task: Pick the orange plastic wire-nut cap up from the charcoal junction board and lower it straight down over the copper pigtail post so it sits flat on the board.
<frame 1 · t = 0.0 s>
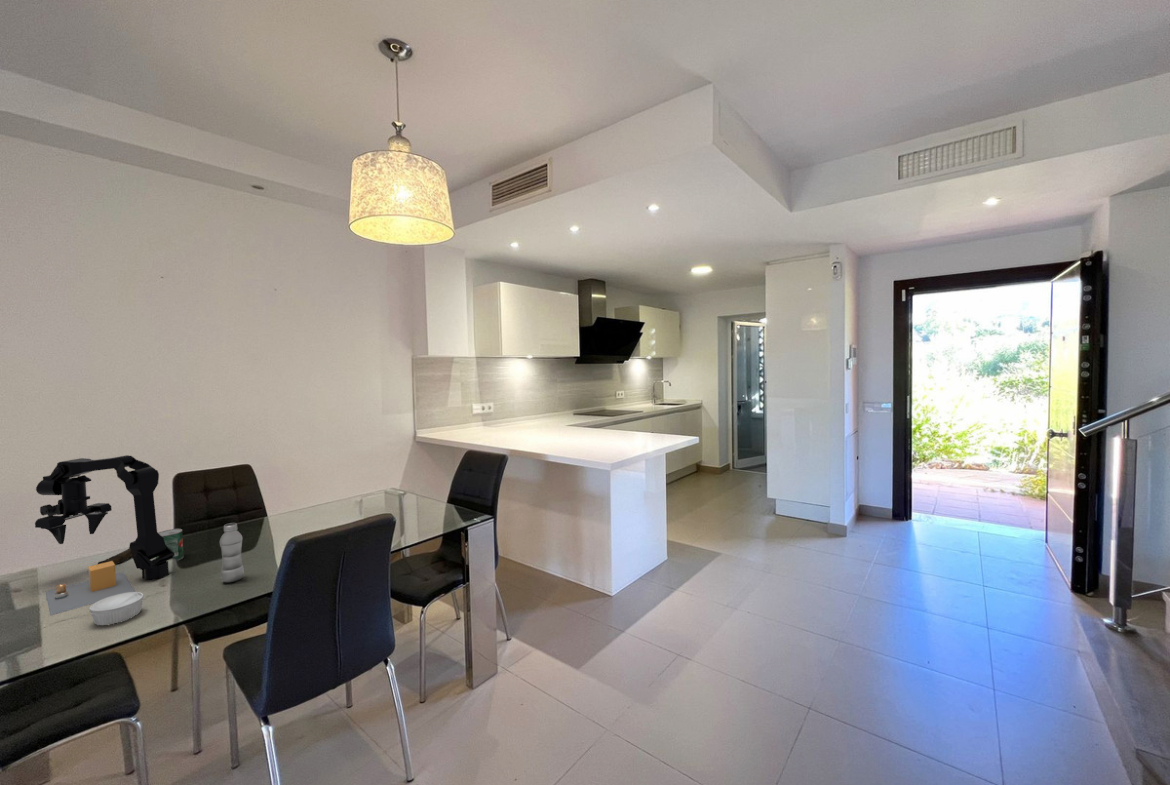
hand: (76, 538, 158), 15 cm above the table, tool pointing down, fingers open, 9 cm apart
canned tomato: (170, 560, 175), on the table
plastic bottle: (232, 581, 157), on the table
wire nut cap: (102, 586, 150), point 1 cm above the table, touching junction board
pigtail post: (61, 597, 143), resting on junction board
junction board: (90, 595, 147), on the table
hand tool: (123, 561, 175), on the table
ramekin: (118, 618, 134), on the table
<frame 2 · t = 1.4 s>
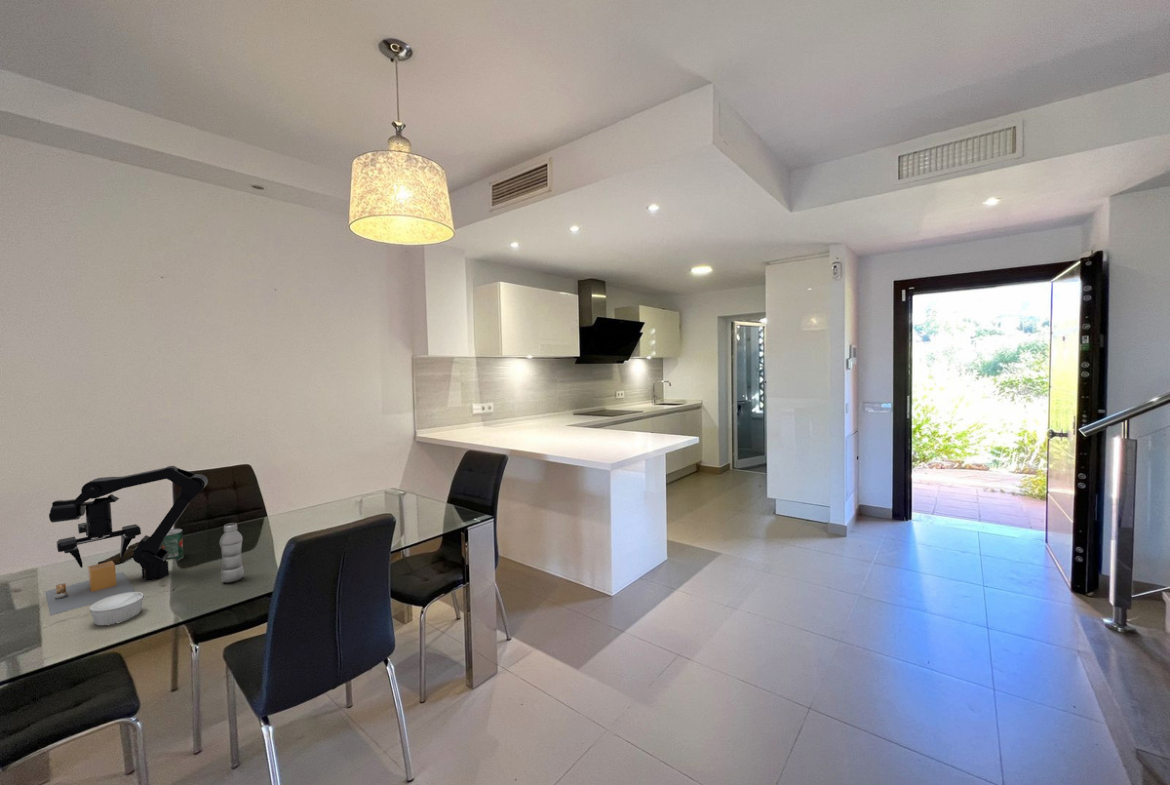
hand: (102, 562, 150), 10 cm above the table, tool pointing down, fingers open, 9 cm apart
nothing on the table moved.
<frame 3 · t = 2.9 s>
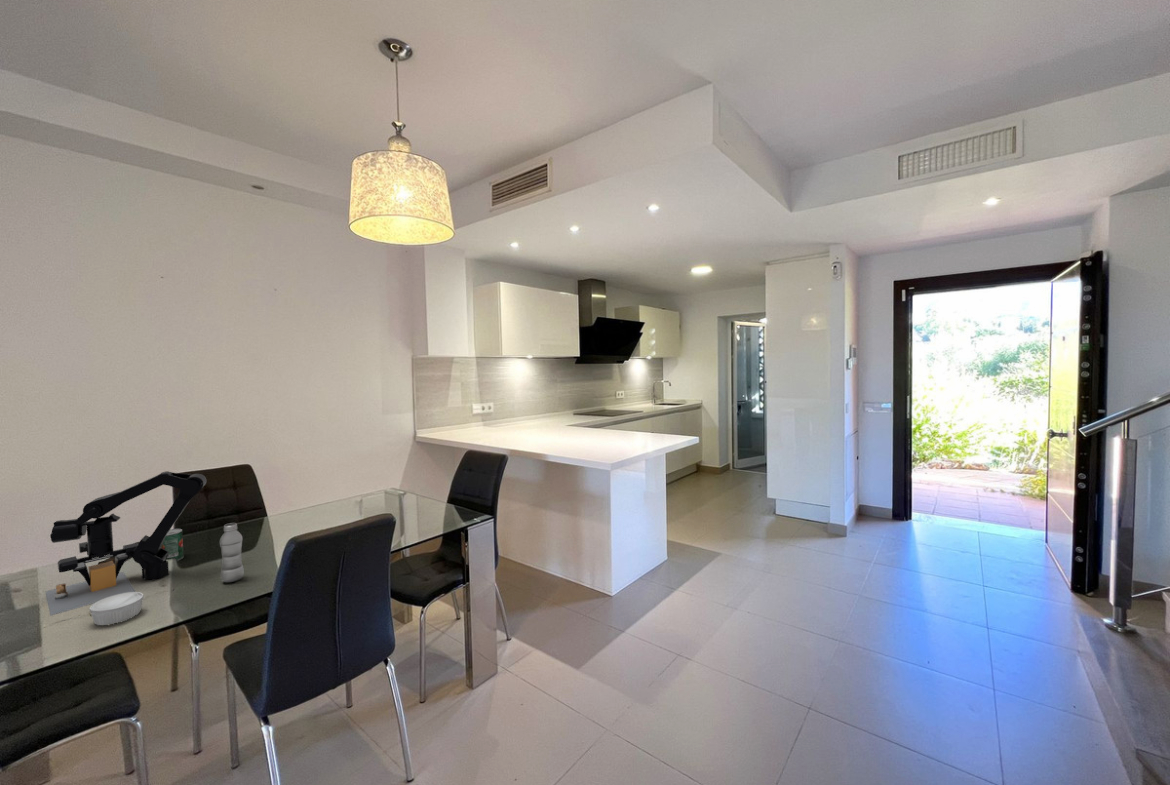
hand: (102, 581, 150), 3 cm above the table, tool pointing down, fingers closed on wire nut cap, 6 cm apart
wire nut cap: (102, 586, 150), point 2 cm above the table, touching gripper, junction board
everything else where it was.
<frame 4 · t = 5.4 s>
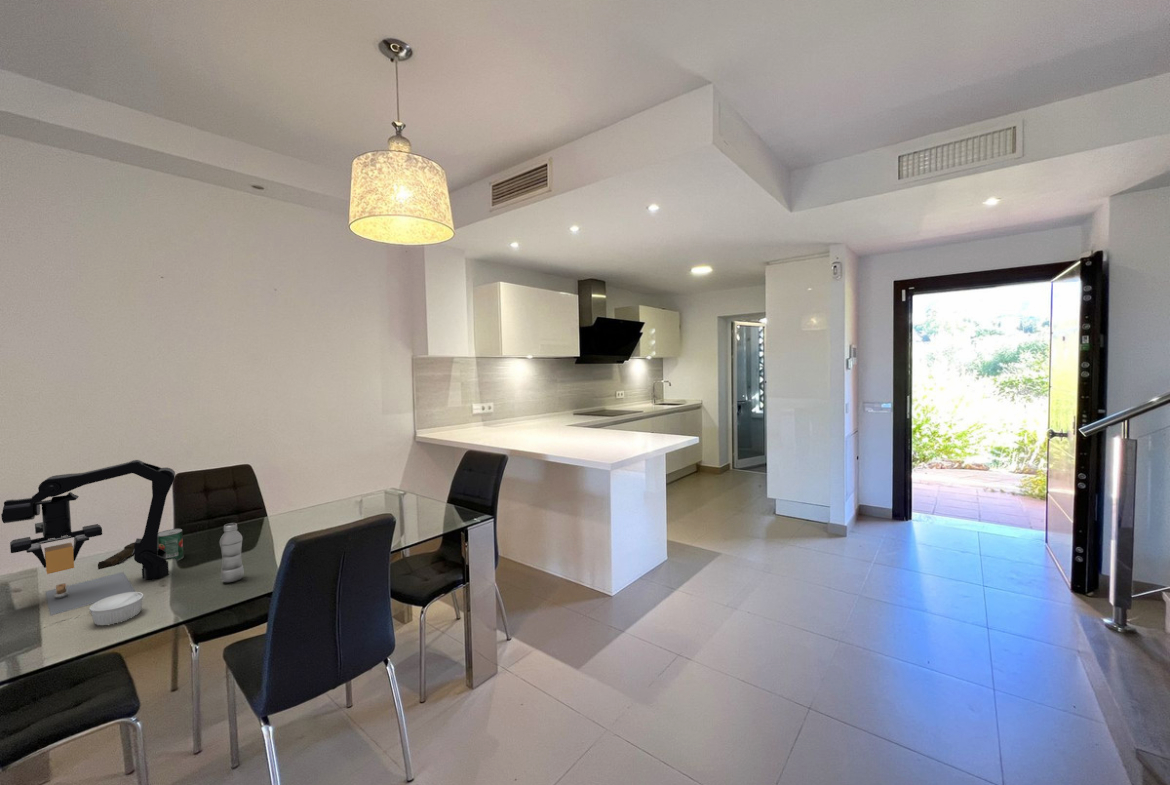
hand: (59, 564, 143), 12 cm above the table, tool pointing down, fingers closed on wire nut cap, 6 cm apart
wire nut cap: (60, 568, 143), point 11 cm above the table, touching gripper
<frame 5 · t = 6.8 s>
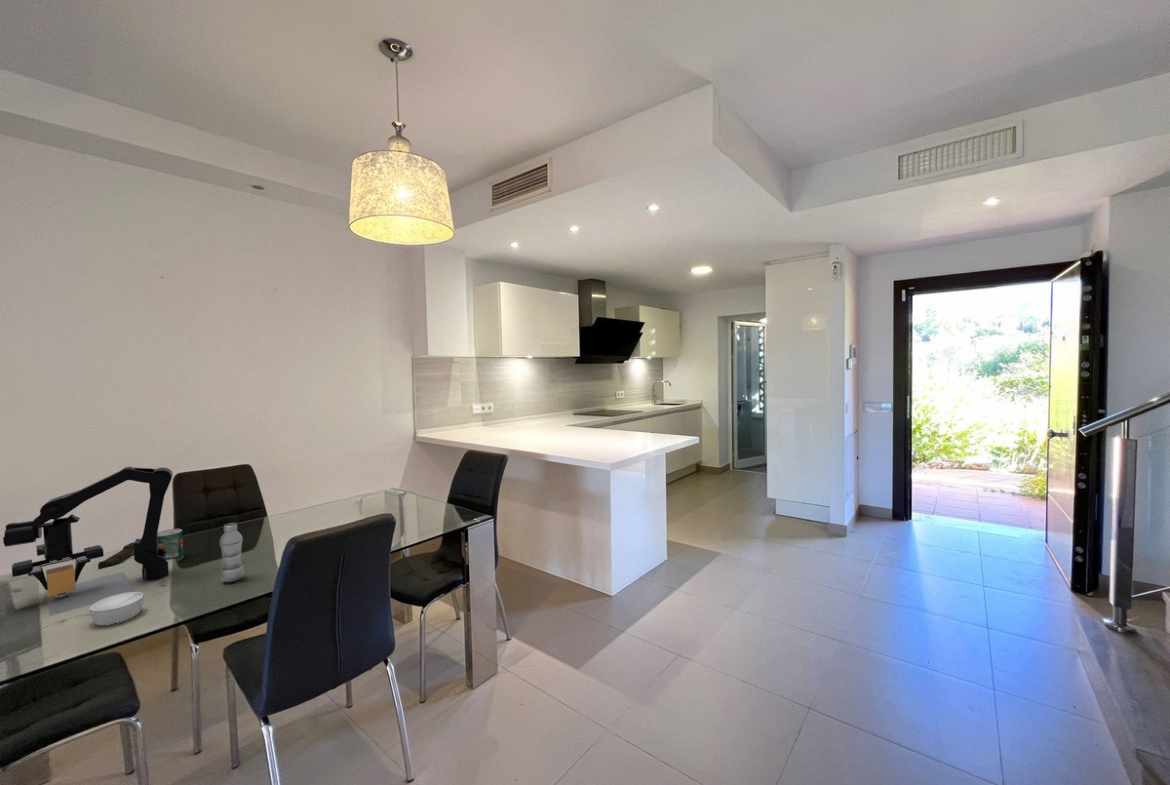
hand: (61, 586, 143), 5 cm above the table, tool pointing down, fingers closed on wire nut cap, 6 cm apart
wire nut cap: (61, 590, 143), point 4 cm above the table, touching gripper
when the fingers open (4 cm above the table, at t = 8.0 s): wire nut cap drops 1 cm, resting on junction board.
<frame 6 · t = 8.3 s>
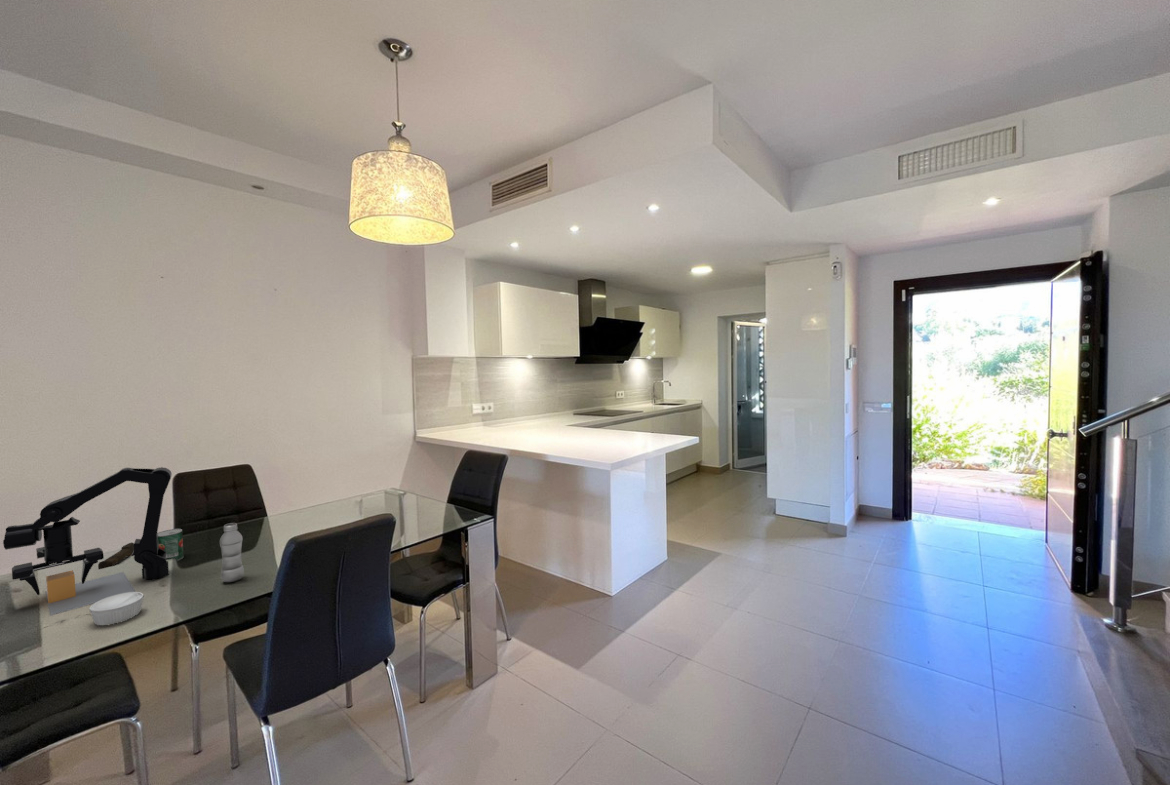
hand: (61, 588, 143), 4 cm above the table, tool pointing down, fingers open, 9 cm apart
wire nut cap: (61, 597, 143), point 1 cm above the table, touching junction board
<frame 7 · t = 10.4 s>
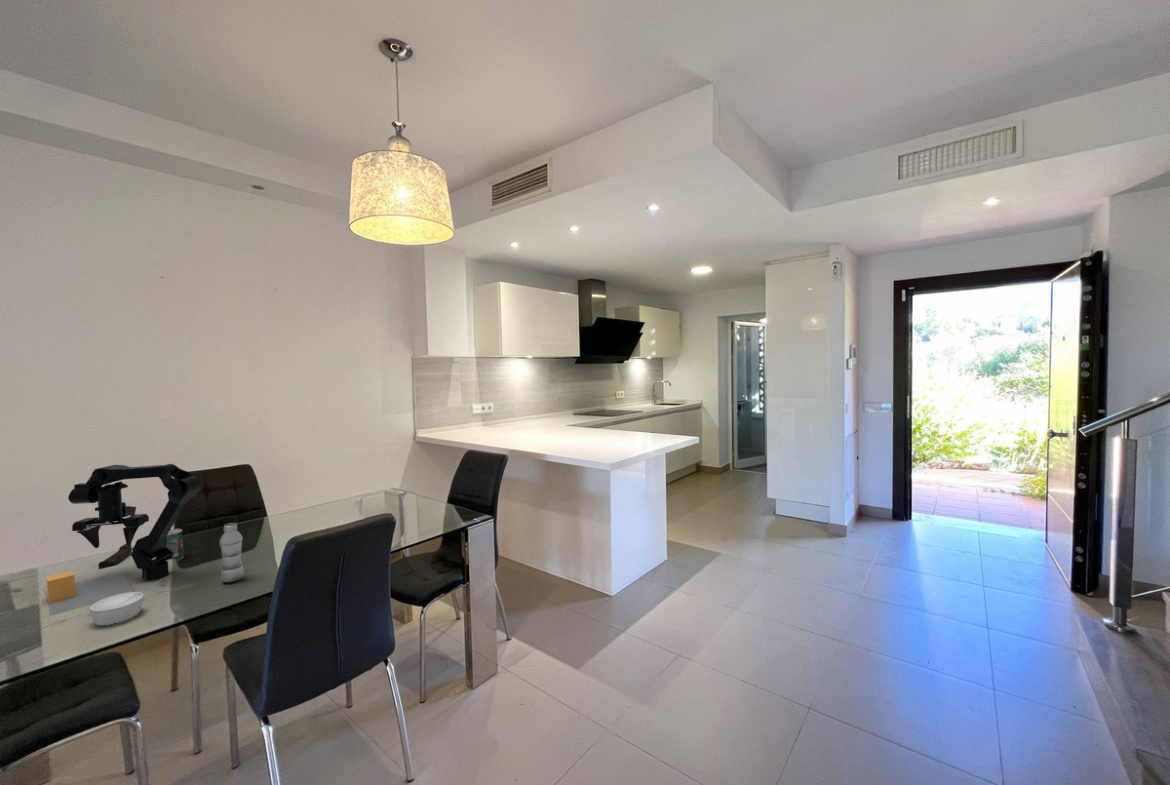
hand: (113, 546, 155), 13 cm above the table, tool pointing down, fingers open, 9 cm apart
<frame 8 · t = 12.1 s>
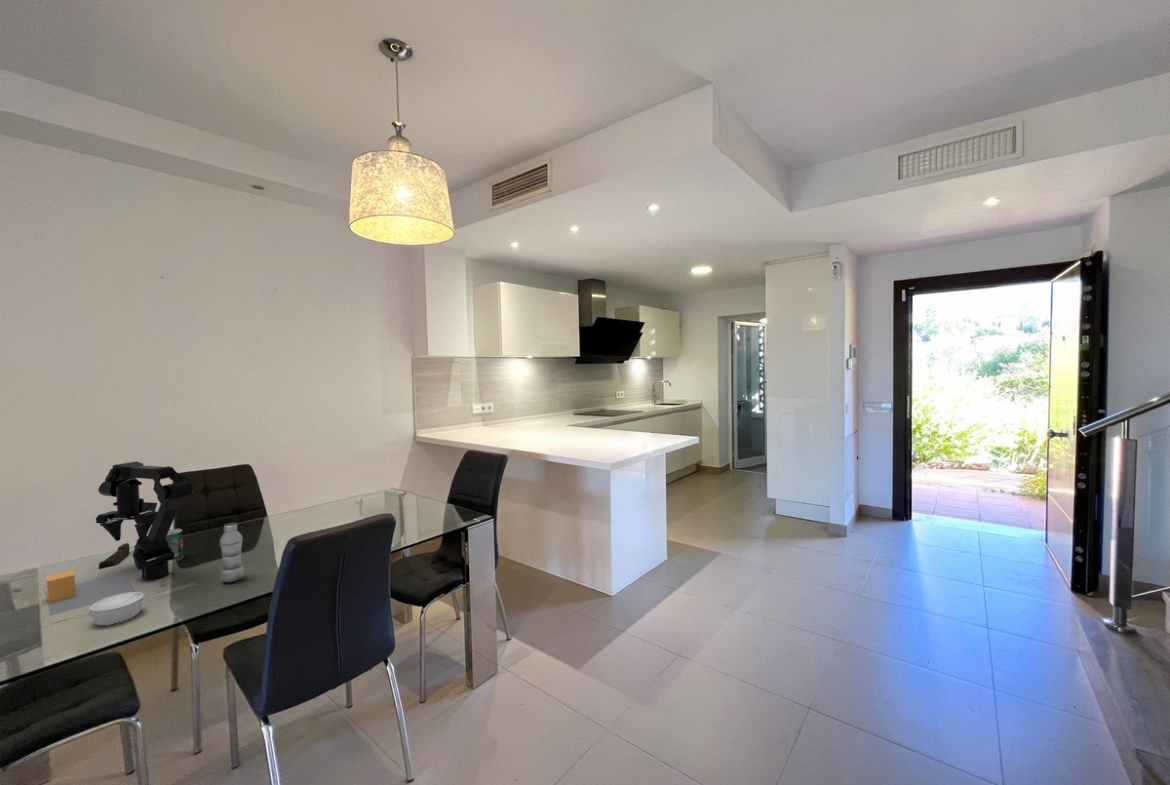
hand: (130, 540, 160), 13 cm above the table, tool pointing down, fingers open, 9 cm apart
at the end: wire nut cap 0.0 cm from the pigtail post (horizontally); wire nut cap point 1.5 cm above the table; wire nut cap tilted 0° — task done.
